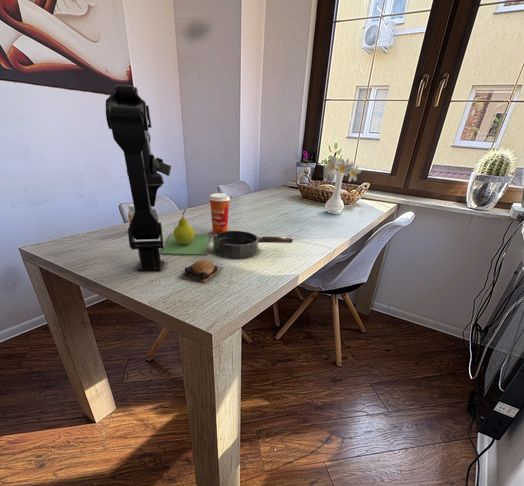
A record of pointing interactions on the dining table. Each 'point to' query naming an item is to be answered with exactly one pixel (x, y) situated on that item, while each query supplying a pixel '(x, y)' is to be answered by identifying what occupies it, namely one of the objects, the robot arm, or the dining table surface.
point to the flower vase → (339, 182)
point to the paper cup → (219, 212)
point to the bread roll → (200, 271)
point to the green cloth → (187, 246)
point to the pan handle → (274, 239)
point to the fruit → (184, 232)
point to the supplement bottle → (131, 208)
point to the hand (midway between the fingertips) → (148, 203)
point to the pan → (235, 244)
